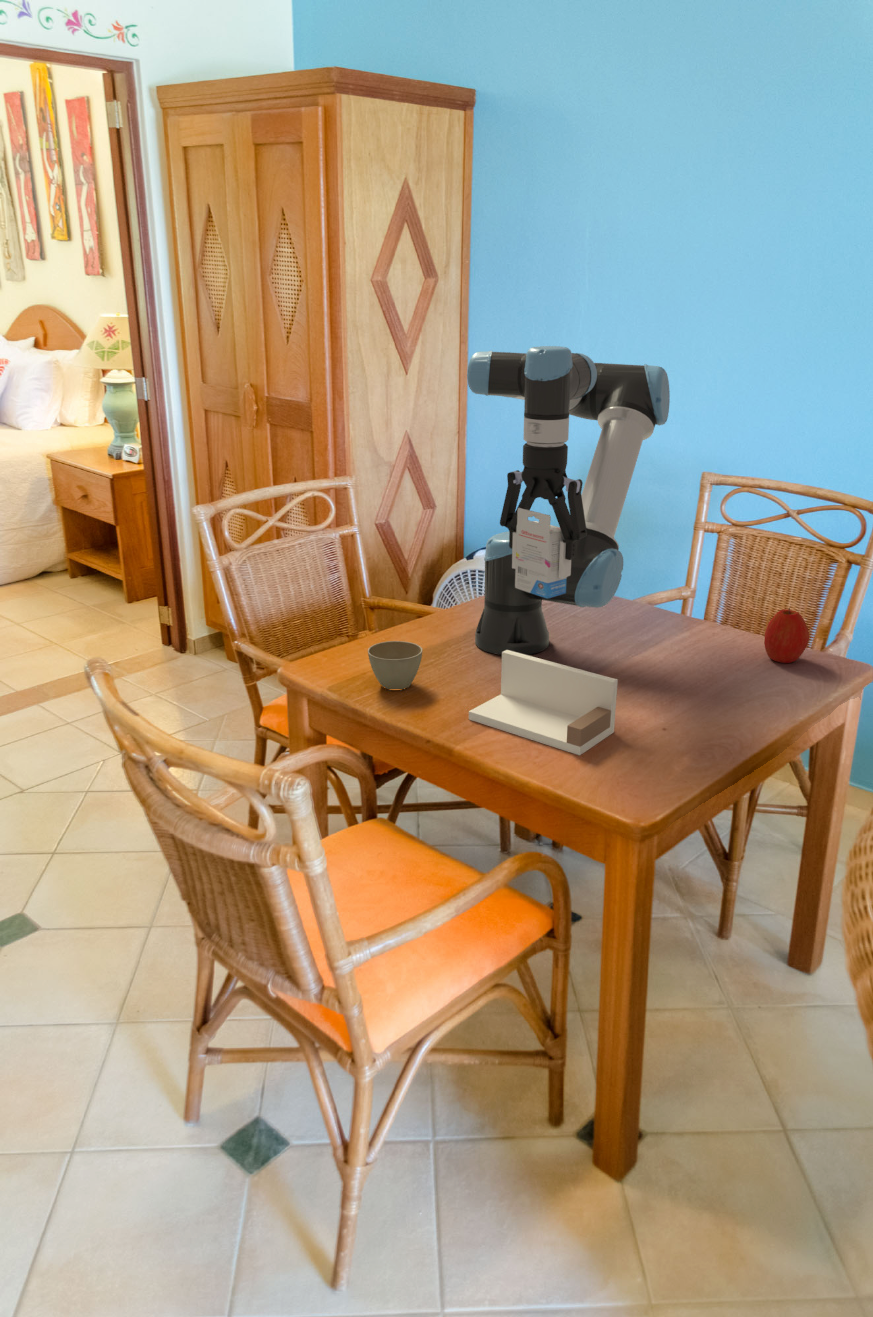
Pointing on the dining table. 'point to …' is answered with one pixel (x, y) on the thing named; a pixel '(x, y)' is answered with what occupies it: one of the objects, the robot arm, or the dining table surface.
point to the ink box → (538, 555)
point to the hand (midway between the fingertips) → (540, 571)
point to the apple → (786, 636)
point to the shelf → (551, 703)
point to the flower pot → (395, 663)
